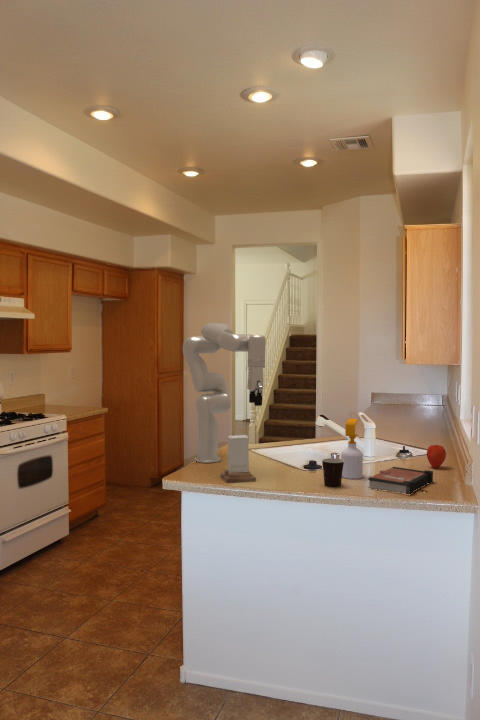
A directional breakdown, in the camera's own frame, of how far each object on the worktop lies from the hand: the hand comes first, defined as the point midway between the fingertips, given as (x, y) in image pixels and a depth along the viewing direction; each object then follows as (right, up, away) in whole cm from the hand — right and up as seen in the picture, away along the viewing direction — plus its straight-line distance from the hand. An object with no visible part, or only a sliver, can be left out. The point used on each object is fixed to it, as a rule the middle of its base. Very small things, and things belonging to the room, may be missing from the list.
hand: (255, 404), depth 254 cm
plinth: (-7, -30, -7) cm, 32 cm away
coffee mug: (+30, -31, -18) cm, 47 cm away
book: (+58, -32, -15) cm, 68 cm away
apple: (+82, -31, +16) cm, 89 cm away
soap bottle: (+41, -31, -2) cm, 51 cm away
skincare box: (-7, -28, -8) cm, 30 cm away
